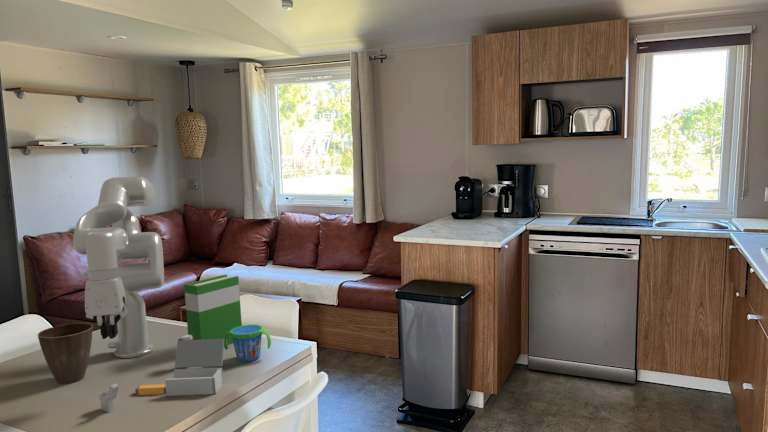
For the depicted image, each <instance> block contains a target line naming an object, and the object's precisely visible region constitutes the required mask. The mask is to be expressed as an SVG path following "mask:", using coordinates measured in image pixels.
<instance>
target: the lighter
mask: <svg viewBox="0 0 768 432" xmlns="http://www.w3.org/2000/svg"><path fill="white" fill-rule="evenodd" d="M118 391H119V385H118V384H117V383H113V384H110V385H109V389H106V390H103V391H102V393H99V403H100V410H102V411H104V412H107V413H112V412H115V410H116V408H115V407H116V406H115V399H116V398H117V395H118Z"/></svg>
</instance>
